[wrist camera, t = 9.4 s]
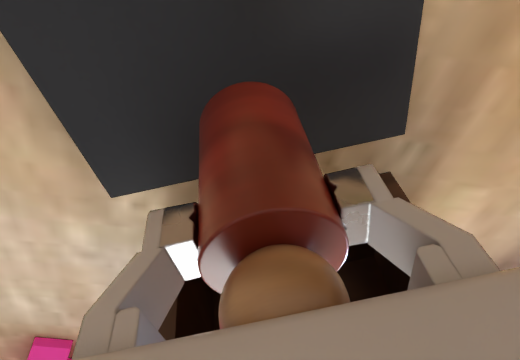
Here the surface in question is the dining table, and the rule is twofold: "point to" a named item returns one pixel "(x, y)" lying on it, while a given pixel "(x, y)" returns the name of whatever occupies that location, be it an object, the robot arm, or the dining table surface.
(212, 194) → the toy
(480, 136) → the dining table surface
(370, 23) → the felt mat
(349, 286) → the open-top box
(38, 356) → the bracket
